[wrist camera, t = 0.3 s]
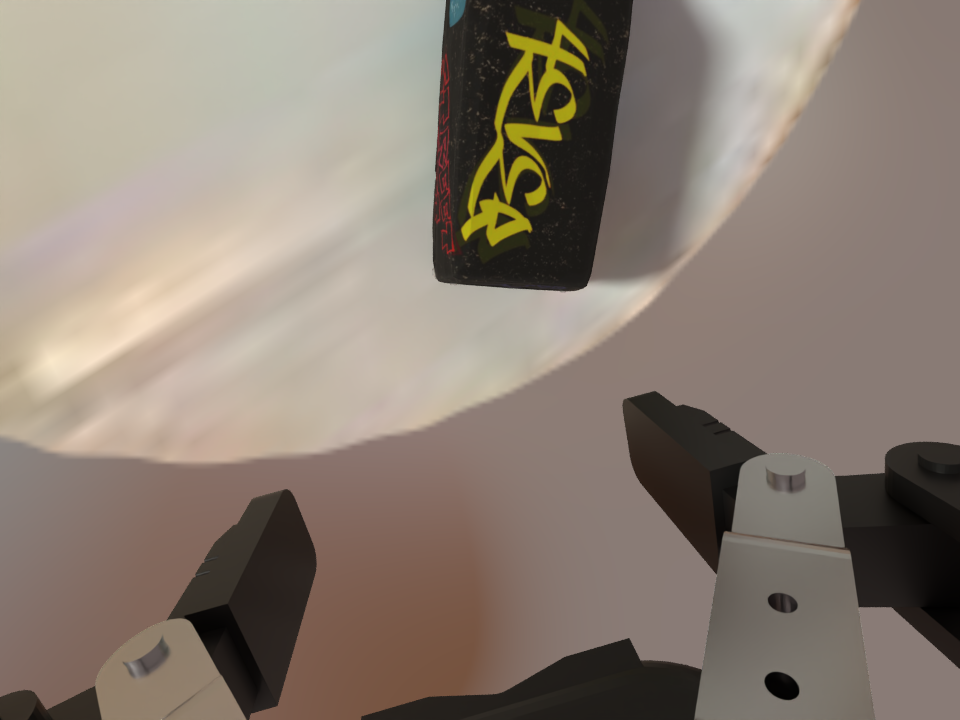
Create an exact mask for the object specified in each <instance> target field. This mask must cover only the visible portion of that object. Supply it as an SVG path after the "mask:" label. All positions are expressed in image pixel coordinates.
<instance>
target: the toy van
mask: <svg viewBox="0 0 960 720" xmlns="http://www.w3.org/2000/svg"><path fill="white" fill-rule="evenodd" d="M632 4H633V0H446V9H445V21H444V33H443V45H442V65H441V81H440V97H439V115H438V137H437V151H436V165H435V172H436V180H435V191H434V206H433V264H434V269H432V274H433V276H434V277H435V279H437V280H438V281H440V282H444V283H450V285H457V284H463V285H476V286H488V287H502V288H516V289H534V290H553V291H560V292H566V291H576V290H580V289H583V288H584V287H586V286H587V284H588V281H589V278H590V276H591V272H592V267H593V261H594V255H595V250H596V244H597V239H598V233H599V228H600V222H601V216H602V211H603V205H604V200H605V194H606V189H607V183H608V178H609V171H610V164H611V156H612V148H613V140H614V132H615V124H616V116H617V110H618V104H619V98H620V92H621V86H622V80H623V74H624V67H625V61H626V55H627V49H628V42H629V35H630V25H631V15H632Z"/></svg>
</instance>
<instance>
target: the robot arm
mask: <svg viewBox="0 0 960 720" xmlns="http://www.w3.org/2000/svg"><path fill="white" fill-rule="evenodd" d="M623 414H624V421H625V427H626V433H627V440H628V446H629V453H630V458H631V463H632V466H633V469H634V471H635V474H636V476H637V478H638V480H639V481H640V483H641V484H642V486H644V488H645V489H646V490H647V492H648V493H649V494H650V495H651V496H652V497H653V499H654V500H655V501H656V502H657V504H658V505H659V506H660V507H661V508H662V509H663V511H664V512H665V513H666V514H667V516H668V517H669V518H670V519H671V520H672V522H673V523H674V524H675V525H676V526H677V528H678V529H679V530H680V531H681V532H682V533H683V535H684V536H685V537H686V538H687V540H688V541H689V542H690V543H691V544H692V546H693V547H694V548H695V549H696V550H697V552H698V553H699V554H700V555H701V556H702V558H703V559H704V560H705V561H706V562H707V564H708V565H709V566H710V567H711V568H712V569H713V571H714V572H715V573H716V574H717V577H716V583H715V591H714V596H713V603H712V609H711V616H710V622H709V629H708V635H707V641H706V648H705V654H704V660H703V667H702V670H701V669H698V668H695V667H691V666H688V665H683V664H678V663H673V662H665V661H652V660H649V661H648V660H647V661H646V660H644V661H640V659H639V657H638V655H637V653H636V651H635V649H634V647H633V645H632V643H631V641H630V639H629V638H628V639H625V640H621V641H618V642H614V643H611V644H608V645H604V646H601V647H597V648H594V649H590V650H587V651H584V652H580V653H577V654H574V655H570V656H566V657H564V658H562V659H561V660H559V661H557V662H555V663H554V664H552V665H550V666H548V667H547V668H545V669H543V670H541V671H540V672H538V673H536V674H535V675H533V676H531V677H529V678H528V679H526V680H524V681H523V682H521V683H519V684H517V685H515V686H514V687H512V688H510V689H508V690H507V691H505V692H502V693H499V694H493V695H465V696H439V697H427V698H423V699H420V700H416V701H413V702H409V703H406V704H403V705H399V706H396V707H392V708H389V709H386V710H382V711H379V712H375V713H372V714H368V715H365V716H362V718H361V720H875V715H874V708H873V701H872V694H871V688H870V681H869V674H868V667H867V660H866V654H865V647H864V641H863V634H862V627H861V620H860V613H859V607H892V608H893V609H894V610H895V611H896V612H898V614H899V615H901V616H902V617H903V618H904V619H905V620H906V621H907V622H909V624H911V625H912V626H913V627H914V628H915V629H916V630H917V631H918V632H919V633H921V634H922V635H923V636H924V637H925V638H926V639H927V640H928V641H930V642H931V643H932V644H933V645H934V646H935V647H936V648H937V649H938V650H940V651H941V652H942V653H943V654H944V655H945V656H946V657H947V658H948V659H949V660H951V661H952V662H953V663H954V664H955V665H956V666H957V667H958V668H960V446H959V445H953V444H948V443H939V442H913V443H906V444H902V445H899V446H896V447H894V448H892V449H891V450H889V451H888V452H887V454H886V456H885V473H880V474H866V475H850V476H834V474H833V472H832V471H831V470H830V469H829V468H828V467H827V466H825V465H824V464H822V463H821V462H819V461H816V460H814V459H811V458H808V457H804V456H801V455H795V454H786V453H784V454H783V453H777V454H776V453H774V454H767V453H765V452H764V451H762V450H761V449H759V448H758V447H756V446H755V445H754V444H752V443H750V442H749V441H747V440H746V439H745V438H743V437H742V436H740V435H739V434H737V433H736V432H734V431H731V430H730V428H729V427H727V426H725V425H724V424H723V423H721V422H720V423H719V422H718V420H717V419H715V418H714V417H712V416H711V415H710V414H708V413H707V412H705V411H703V410H700V409H697V408H693V407H690V406H686V405H680V406H675V405H674V404H673V403H671V402H670V401H669V400H667V399H666V398H665V397H663V396H662V395H660V394H659V393H657V392H656V391H653V392H650V393H646V394H642V395H638V396H635V397H631V398H627V399H624V401H623ZM204 561H205V563H202V564H201V566H200V567H199V569H198V571H197V572H196V577H194V578H193V579H192V580H191V582H190V584H189V585H188V587H187V589H186V590H185V592H184V593H183V595H182V597H181V598H180V600H179V601H178V603H177V605H176V606H175V608H174V609H173V611H172V612H171V614H170V616H169V617H168V619H167V621H164V622H161V623H158V624H156V625H154V626H152V627H150V628H147V629H146V630H144V631H142V632H141V633H139V634H137V635H136V636H134V637H133V638H132V639H130V640H129V641H127V642H126V643H125V644H124V645H122V646H121V647H120V648H119V649H118V650H117V651H116V652H115V653H114V654H113V655H112V656H111V657H110V658H109V659H108V660H107V662H106V663H105V664H104V666H103V667H102V669H101V670H100V672H99V674H98V676H97V678H96V683H95V686H94V687H92V688H90V689H88V690H86V691H84V692H82V693H80V694H78V695H76V696H74V697H72V698H70V699H68V700H66V701H64V702H62V703H60V704H58V705H56V706H54V707H52V708H50V709H48V710H46V709H45V707H44V706H43V704H42V703H41V701H40V700H39V698H38V697H37V695H36V694H35V693H34V692H32V691H28V690H23V691H17V692H13V693H10V694H7V695H5V696H2V697H0V720H249V718H250V715H251V713H255V712H258V711H262V710H265V709H269V708H272V707H276V706H277V705H278V702H279V698H280V695H281V692H282V688H283V685H284V681H285V678H286V674H287V671H288V667H289V664H290V660H291V657H292V654H293V650H294V647H295V643H296V640H297V636H298V632H299V629H300V625H301V622H302V619H303V615H304V612H305V607H306V604H307V601H308V598H309V594H310V591H311V587H312V584H313V580H314V577H315V572H316V553H315V549H314V545H313V543H312V540H311V537H310V535H309V532H308V530H307V528H306V525H305V522H304V520H303V517H302V515H301V512H300V510H299V508H298V505H297V502H296V500H295V498H294V496H293V494H292V493H291V492H290V491H289V490H287V489H285V490H282V491H278V492H274V493H270V494H266V495H263V496H259V497H256V498H253V499H252V500H251V502H250V503H249V505H248V507H247V509H246V510H245V512H244V514H243V515H242V517H241V519H240V521H239V522H238V524H237V525H233V526H232V527H231V528H230V529H229V530H228V531H227V532H226V533H225V534H224V535H222V536H221V537H220V538H219V539H218V540H217V541H216V542H215V543H214V545H213V547H212V548H211V550H210V551H209V553H208V554H207V556H206V558H205V560H204Z"/></svg>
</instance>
